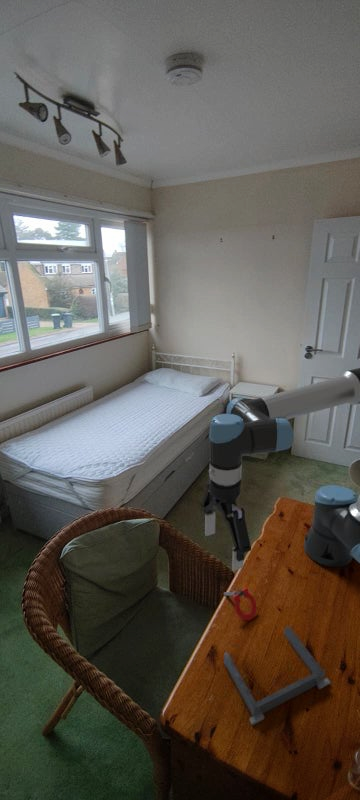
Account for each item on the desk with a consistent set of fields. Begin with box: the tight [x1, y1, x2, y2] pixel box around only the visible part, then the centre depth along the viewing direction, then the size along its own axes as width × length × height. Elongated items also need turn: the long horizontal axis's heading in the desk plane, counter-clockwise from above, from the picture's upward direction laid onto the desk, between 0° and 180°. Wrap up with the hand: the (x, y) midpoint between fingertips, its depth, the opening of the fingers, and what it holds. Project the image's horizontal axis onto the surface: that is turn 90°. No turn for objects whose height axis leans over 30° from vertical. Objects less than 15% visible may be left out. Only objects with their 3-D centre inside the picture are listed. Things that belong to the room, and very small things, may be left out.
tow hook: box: [223, 587, 257, 621], centre depth 107 cm, size 7×10×7 cm
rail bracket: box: [223, 625, 331, 726], centre depth 89 cm, size 21×14×3 cm, turn 113°
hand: (222, 550), depth 97 cm, fingers open, 13 cm apart
